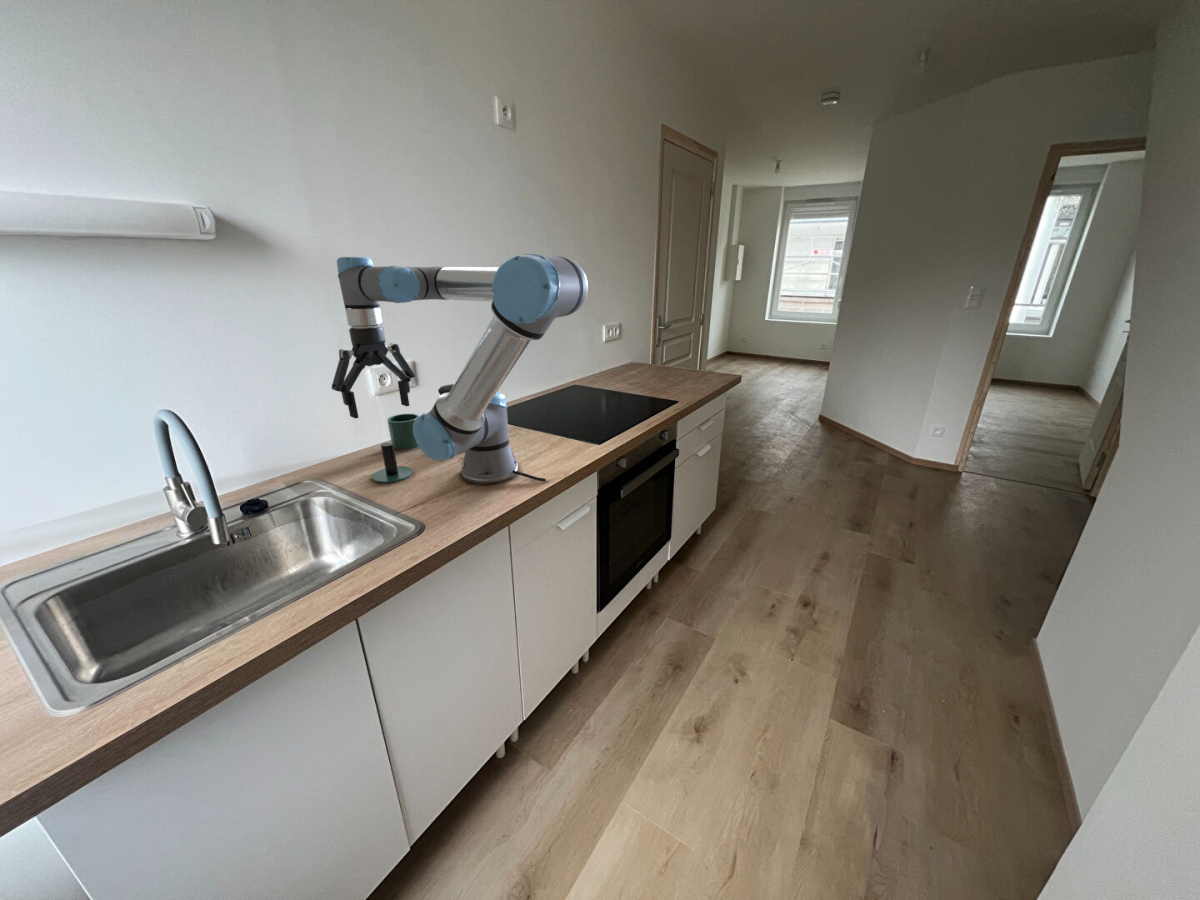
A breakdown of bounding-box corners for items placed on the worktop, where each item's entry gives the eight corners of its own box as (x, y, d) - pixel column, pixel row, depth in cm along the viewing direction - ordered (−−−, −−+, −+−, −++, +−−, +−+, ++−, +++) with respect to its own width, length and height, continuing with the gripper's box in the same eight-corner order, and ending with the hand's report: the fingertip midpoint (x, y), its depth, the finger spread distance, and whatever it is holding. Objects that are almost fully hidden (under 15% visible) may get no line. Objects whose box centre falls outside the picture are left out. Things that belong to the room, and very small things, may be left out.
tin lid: (420, 475, 124) (415, 442, 121) (385, 489, 117) (378, 454, 113) (400, 467, 130) (394, 435, 126) (365, 479, 122) (358, 445, 119)
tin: (428, 444, 147) (424, 416, 143) (402, 453, 140) (397, 424, 136) (413, 439, 152) (408, 412, 148) (386, 446, 145) (381, 418, 142)
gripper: (405, 321, 120) (416, 398, 128) (302, 329, 102) (323, 419, 109) (421, 323, 116) (432, 403, 124) (317, 332, 97) (337, 425, 105)
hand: (381, 411), depth 117 cm, fingers open, 13 cm apart
